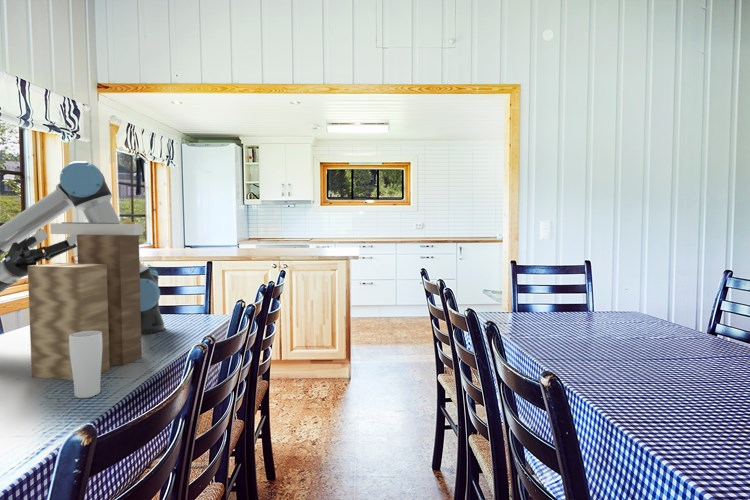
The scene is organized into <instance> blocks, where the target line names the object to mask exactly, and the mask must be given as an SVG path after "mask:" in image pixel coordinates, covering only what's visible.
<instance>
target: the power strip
mask: <svg viewBox="0 0 750 500" xmlns="http://www.w3.org/2000/svg"><path fill="white" fill-rule="evenodd" d="M49 225H50V235H72V234H88V235H139V236H143V224H142V223H136V222H135V221H123V222H122V223H121V224H119V223H89V222H71V221H69V222H68V221H66V222H65V221H64V222H63V221H62V222H61V223H59V222H58V223H57V222H56V223H55V222H49Z"/></svg>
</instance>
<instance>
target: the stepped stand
mask: <svg viewBox="0 0 750 500" xmlns="http://www.w3.org/2000/svg"><path fill="white" fill-rule="evenodd" d="M76 246H77V247H76V249H77V263H74V262H54V263H52V262H51V263H43V264H36V265H31V266H28V274H27V282H28V283H27V285H28V287H27V288H28V289H27V290H28V305H29V306H28V307H29V308H28V309H29V310H28V311H29V335H30V336H29V337H30V359H31V360H30V362H31V377H32V378H41V379H42V378H44V379H54V380H66V379H67V380H68V381H69V380H70V381H73V375H72V368H71V361H70V353H69V336H70V335H71V334H73V333H77V332H83V331H100V332H102V340H103V352H102V366H101V374H103V373H105V372H108V371H110V367H111V366H122V367H123V366H126V365H128V364H130V363H133V362H135V361H137V360H140V359H142V358H143V356H142V353H143V351H142V334H141V306H140V263H139V260H140V235H88V234H80V235H77V243H76Z"/></svg>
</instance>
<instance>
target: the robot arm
mask: <svg viewBox="0 0 750 500" xmlns="http://www.w3.org/2000/svg"><path fill="white" fill-rule="evenodd" d="M112 197H113V194H112V193H111V191H110V188H109V186H108V184H107V182H106V179H105V176H104V174H103V172H102V171H101V170H100V169H99V168H98V167H97V166H96V165H95V164H93V163H91V162H89V161H83V160H81V161H72V162H69V163H68V164H67V165H65V166H64V167H63V169H62V170H61V171H60V175H59V183H58V184H56V185H55V189H54V190H53V191H51V192H49V194H47V195H45V196H44V197H42V198H41V199H40V200H38V201H37V202H35V203H34V204H32V205H30V206H29V207H27V208H25V209H24V210H23V211H22V212H20V213H18V214H16V215H15V216H14V217H12V218H11V219H9V220H7V221H6V222H5V223H3V224H2V225H0V257H1V256H2V255H4V254H5V253H6V252H7V254H6V255H4V256H3V259H2V260H0V294H1V293H2V292H4V291H5V290H7V289H8V288H9V287H12V285H14V284H17V283H18V281H20V280H22V278H24V277H26V276H28V266H31V265H38V264H37V263H39V262H41V261H42V260H45V261H46V262H47V261H51V260H52V259H53V258H55V257H58V256H60V255H62V254H64V253H66V252H69V251H71V250H72V249H75V248H76V249H77V235H80V234H69V236H67V237H66V238H65V239H64V240H62V241H59V242H57V243H54V244H51V245H48V246H41V247H38V248H35V247H37V246H38V245H40V244H41V243H42V242H44V241H45V240H46V239H48V238H49V236H48V233H47V232H46V230H45V228H43V227H45V226H46V225H48V224H50V223H52V221H54V220H55V219H57V218H58V217H60V216H61V215H63V214H64V213H66V212H68V210H70V209H71V208H73V207H74V208H75V209H77V210H80V211H81V212H83V215H84V216H85V218H86V219H87V223H119V224H122V222H121V221H120V218H119V217H118V215H117V212H116V211H115V209H114V207H113V205H112V203H111V200H112ZM139 263H140V306H141V335H148V334H155V333H158V332H162V331H163V330H164V329H165V322H164V319H163V317H162V314H161V312H160V305H159V303H160V302H159V300H160V297H161V289H160V287H159V279H160V277H159V273H158V271H157V270H150V268H149V267H148V266H147V265H144V264H142V263H141V260H140V259H139Z"/></svg>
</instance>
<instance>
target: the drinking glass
mask: <svg viewBox="0 0 750 500" xmlns="http://www.w3.org/2000/svg"><path fill="white" fill-rule="evenodd" d="M102 352H103V340H102V332H100V331H83V332H77V333H73V334H71V335H70V336H69V353H70V361H71V368H72V375H73V380H72V381H73V390H74V391H73V393H74V397H75V398H76V399H88V398H89V399H90V398H93V397H95V395H96V396H98V395H99V394H100V393H101V379H102V373H101V366H102Z"/></svg>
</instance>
